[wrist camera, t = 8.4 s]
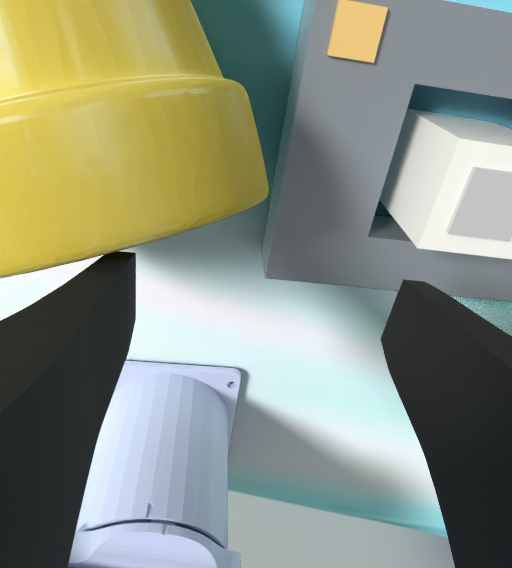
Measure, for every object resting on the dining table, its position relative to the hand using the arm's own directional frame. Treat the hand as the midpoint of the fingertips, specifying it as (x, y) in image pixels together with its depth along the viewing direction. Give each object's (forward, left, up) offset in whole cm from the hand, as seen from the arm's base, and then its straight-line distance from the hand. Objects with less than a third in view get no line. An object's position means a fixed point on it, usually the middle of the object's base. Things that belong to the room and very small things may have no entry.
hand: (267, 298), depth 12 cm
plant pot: (+9, +8, -6) cm, 13 cm away
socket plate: (+2, -8, -9) cm, 13 cm away
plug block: (+2, -8, -10) cm, 13 cm away
